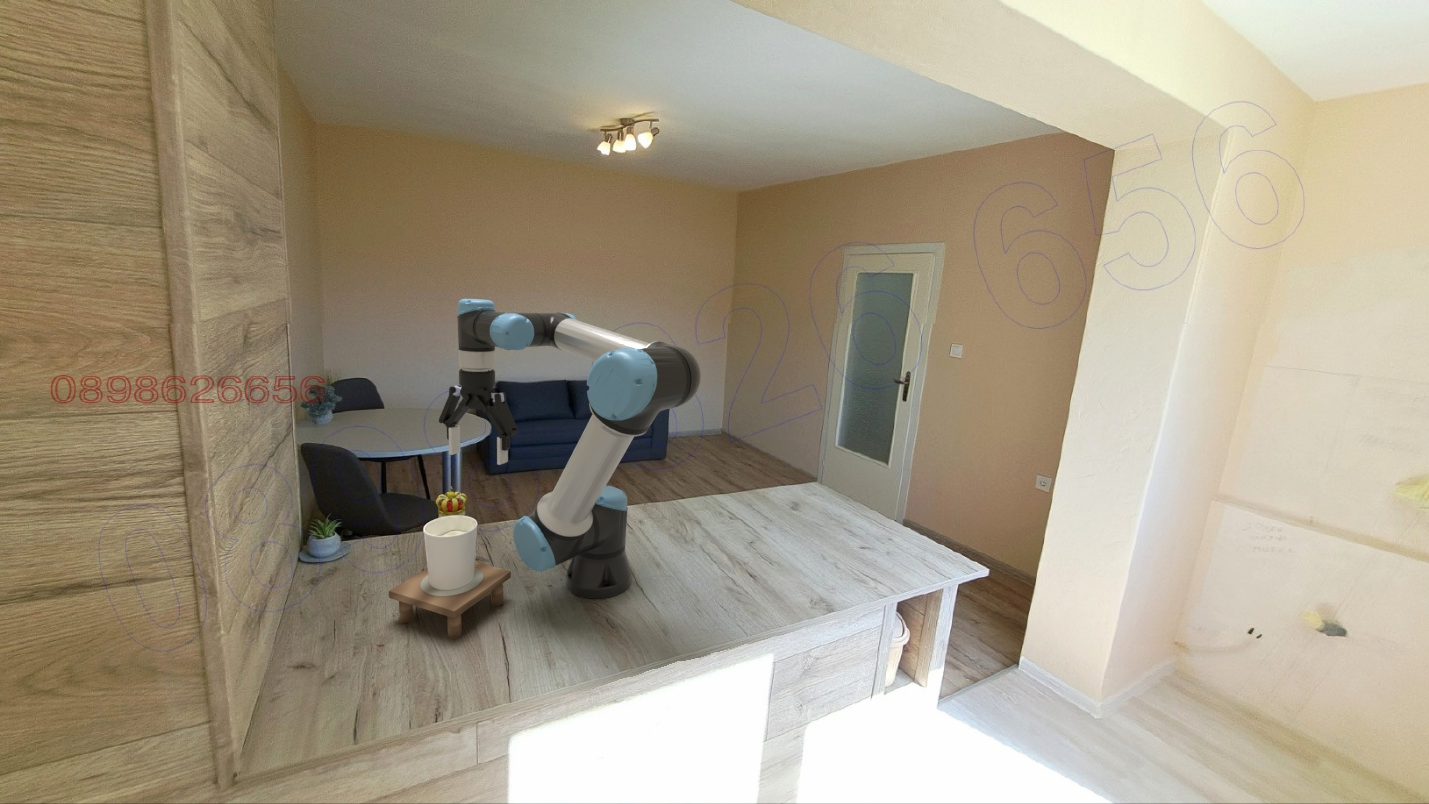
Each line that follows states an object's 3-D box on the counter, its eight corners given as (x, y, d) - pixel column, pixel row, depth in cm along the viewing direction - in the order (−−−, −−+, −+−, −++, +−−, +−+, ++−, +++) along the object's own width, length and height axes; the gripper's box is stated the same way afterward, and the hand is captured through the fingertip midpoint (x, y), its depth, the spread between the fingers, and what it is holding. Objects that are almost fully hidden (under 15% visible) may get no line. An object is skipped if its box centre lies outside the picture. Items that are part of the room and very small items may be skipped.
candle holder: (413, 587, 107) (411, 531, 105) (447, 564, 116) (446, 512, 114) (457, 596, 105) (456, 540, 103) (488, 572, 115) (487, 519, 112)
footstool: (510, 600, 117) (511, 570, 116) (455, 644, 102) (454, 610, 101) (451, 583, 122) (451, 554, 121) (390, 622, 107) (388, 589, 106)
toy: (473, 539, 142) (472, 486, 139) (447, 549, 136) (445, 493, 133) (457, 531, 146) (456, 479, 143) (431, 540, 140) (429, 486, 137)
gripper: (534, 373, 122) (533, 462, 126) (445, 360, 129) (447, 445, 133) (512, 377, 115) (512, 472, 119) (419, 363, 122) (423, 453, 126)
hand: (478, 458), depth 126 cm, fingers open, 13 cm apart
